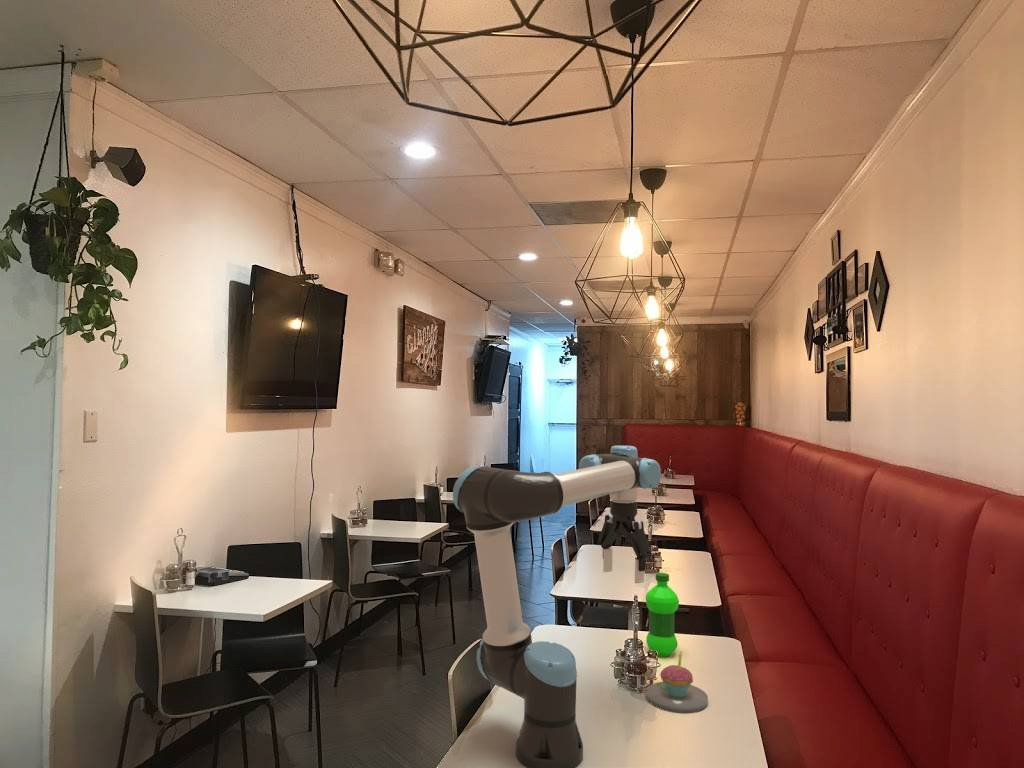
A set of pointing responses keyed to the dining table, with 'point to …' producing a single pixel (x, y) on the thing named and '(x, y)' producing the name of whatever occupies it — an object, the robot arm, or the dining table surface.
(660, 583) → the plastic bottle
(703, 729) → the dining table surface
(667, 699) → the slate plate
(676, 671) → the cupcake
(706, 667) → the dining table surface
